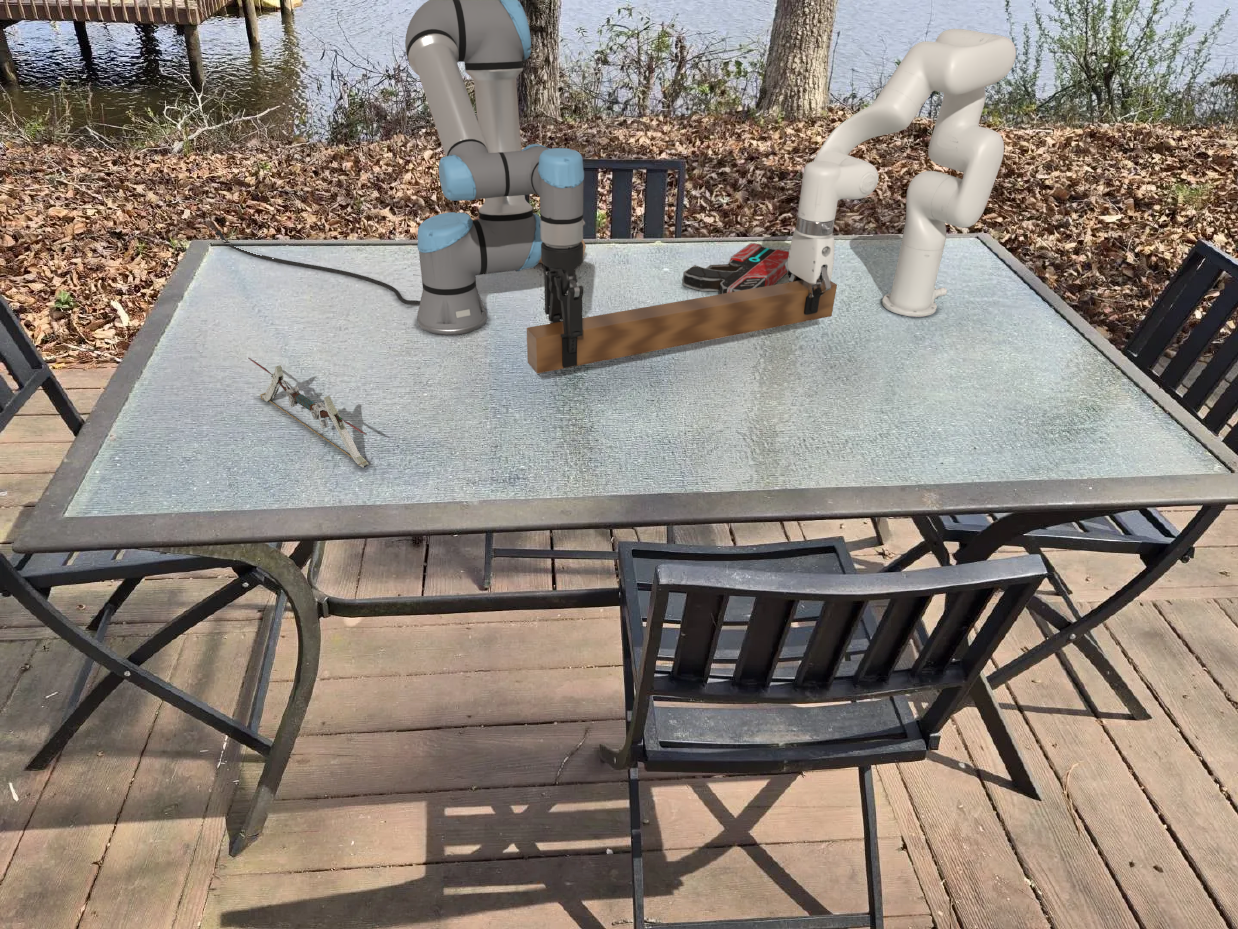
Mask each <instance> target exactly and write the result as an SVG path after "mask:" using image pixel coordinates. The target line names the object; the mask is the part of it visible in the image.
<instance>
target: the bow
mask: <svg viewBox="0 0 1238 929" xmlns="http://www.w3.org/2000/svg"><path fill="white" fill-rule="evenodd" d="M247 358H248V359H249V360H250V361H251V362H252V363H253V364H255V365H256V366H257V367H259V368H260V369H262V370H263V371H265V372H266V373H268V374H269V375H271V379H270V380H271V381H270V384H269V385H268V387H267V389H266V392H262V393H260V394H259V397H260V399H261V400H262V401H264V402H269V403H271V404H272V405H274V406H276V407H277V408H278V409H280V410H281V411H283V412H284V413H286V414H287V415H288V416H290V417H291V418H293V419H294V420H296V421H297V422H298V423H300V424H302V425H303V426H305V427H306V428H308V429H309V430H311V431H312V432H313V433H315V434H316V435H318V436H319V437H320V438H323V440H324V441H327V442H328V443H330V444H331V445H332V446H334V447H335V448H337V449H338V450H339V451H341V452H343V453H344V454H345V455H347V456H348V457H350V458H351V459H353V461H354V462H355V463H356V465H357V466H359V467H360V468H365V466H370V463H369V462H368V460H366V459H365V458H364V457H363V456H362V454H361V453H360V451H359V449H358V448H357V445H356V444H355V441H354V440H353V438H352V436H351V435H350V433H349V431H348V430H347V426H346V425H348V426H350V427H351V428H353V429H354V430H356V431H357V432H359V433H361V434H363V435H365V436H368V433H366V432H365V431H363V430H362V429H360V428H359V427H357V426H356V425H354V424H352V423H350V422H349V421H347V420H344V419H343V417H342V416H341V414H340V413H339V411H338V409H337V408H336V406H335V404H334V402H333V400H332V397H331V396H330V395H327V396H324V397H323V402H324V403H323V402H322V401H321V402H318V403H316V404H315V402H314V401H313V400H312V399H311V398H309V397H307V395H304V394H301V392H300V389H299V386H293V385H292V384H290V383H289V381H287V380H285V379H284V372H283V367H282V365H281V364H279V365H276V366H275V367H274V372H273V373H271V372H270V371H269V370H268V369H267V368H265V367H264V366H263V365H262V364H260V363H259V362H257V361H256V360H254V359H252V358H251V357H249V356H248V357H247ZM280 387H281V388H282V389H283V390H284V392H285V393H286V396H287V398H288V406H289V407H290V408H291V409H293V408H294V407H298V405H300V406H301V407H303V408H305V409H306V410H307V411H309V412H311V416H312V418H313V419H314V420H317V421H319V425H320V428H321V429H322V430H324V429H326V428H329V427H330V426H329V422H328V420H327V418H330V420H331V421H332V423H333V425H334V427H335V429H336V431H337V432H338V435H339V437H340V439H341V441H342V443H343V444H344V445H345V447H346V448H345V449H347V452H346V451H345V450H344V449H342V448H340V447H339V446H338V445H336V444H335V443H333V442H332V441H330V440H328V439H327V438H326V437H324V436H323V435H321V434H320V433H319V432H317V431H316V430H314V429H312V428H311V427H310V426H308V425H307V424H305V423H304V422H302V421H301V420H299V419H297V417H295V416H293V414H291V413H289V412H288V411H286V410H285V409H283V408H282V407H281V406H279V405H278V404H276V403H274V402H273V401H272V400H274V399H275V398H276V396H277V394H278V392H279V390H280ZM344 423H345V424H346V425H345V424H344Z"/></svg>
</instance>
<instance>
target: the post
mask: <svg viewBox="0 0 1238 929" xmlns="http://www.w3.org/2000/svg"><path fill="white" fill-rule="evenodd" d="M830 284H831V289H829V290H828V291H826V292H825V293H823V295H822V296H820V300H819V306H818V312H817V313H813V314H808V315H806V314H804V308H805V302H806V297H807V296H809V293H808V282H806V281H804V280H800V281H794V282H789V281H787V282H783V283H775V284H774V285H771V286H765V287H759V288H753V289H748V290H742V291H736V292H730V293H724V294H719V293H718V294H714V295H713V294H712V295H708V296H702V297H697V298H691V299H684V300H679V301H674V302H673V301H672V302H668V303H661V304H655V305H650V306H649V305H648V306H644V307H639V308H633V309H627V310H621V311H615V312H610V313H604V314H598V315H592V316H586V317H582V325H583V335H582V336H579V337H577V365H576V366H571V367H566V368H563V366H562V338H561V335H560V334H564V328H563V322H557V323H551V322H550V323H551V324H550V323H546V324H545V323H544V324H540V325H539V324H538V325H535V326H528V327H526V352H527V353H526V356H527V357H526V358H527V364H528V365H529V366H530V367H531V368H532V369H533V370H534V372H535V373H536V374H537V375H538V374H543V373H548V372H555V371H559V370H563V369H568V368H574V367H579V366H585V365H590V364H593V363H594V364H595V363H599V362H605V361H610V360H616V359H620V358H625V357H630V356H631V357H632V356H635V355H640V354H645V353H651V352H656V351H661V350H664V349H665V350H667V349H672V348H676V347H681V346H687V345H691V344H692V345H693V344H696V343H702V342H706V341H712V340H718V339H723V338H728V337H732V336H738V335H743V334H749V333H753V332H758V331H763V330H764V331H765V330H769V329H774V328H779V327H785V326H788V325H794V324H799V323H803V322H809V321H815V320H819V319H826V318H830V317H832V316H833V312H834V311H833V310H834V305H835V300H836V293H837V288H838V284H837V283H835V282H834V281H832V280H831V281H830ZM816 288H817V285H814V290H815V289H816Z"/></svg>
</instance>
